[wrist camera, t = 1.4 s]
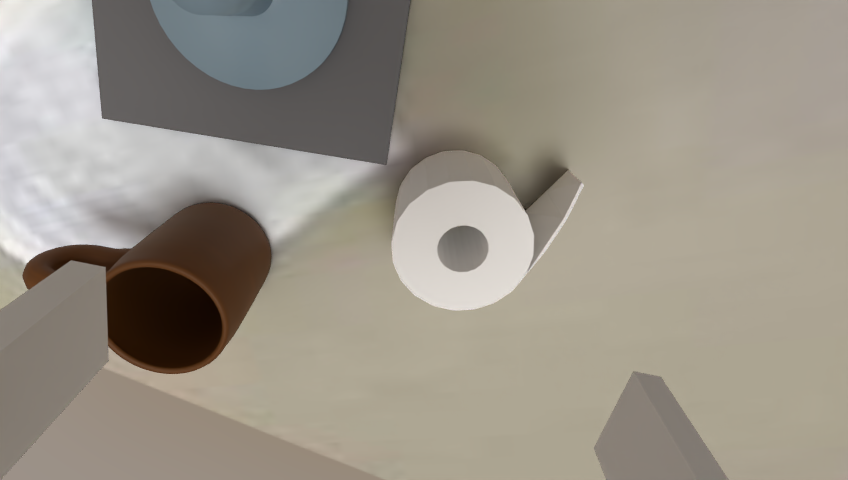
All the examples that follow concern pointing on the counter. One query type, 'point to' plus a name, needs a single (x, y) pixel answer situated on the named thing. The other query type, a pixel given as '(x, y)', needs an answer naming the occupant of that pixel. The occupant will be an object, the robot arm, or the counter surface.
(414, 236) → the toilet paper
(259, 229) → the mug
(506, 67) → the counter surface
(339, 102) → the mat
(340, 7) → the lid
